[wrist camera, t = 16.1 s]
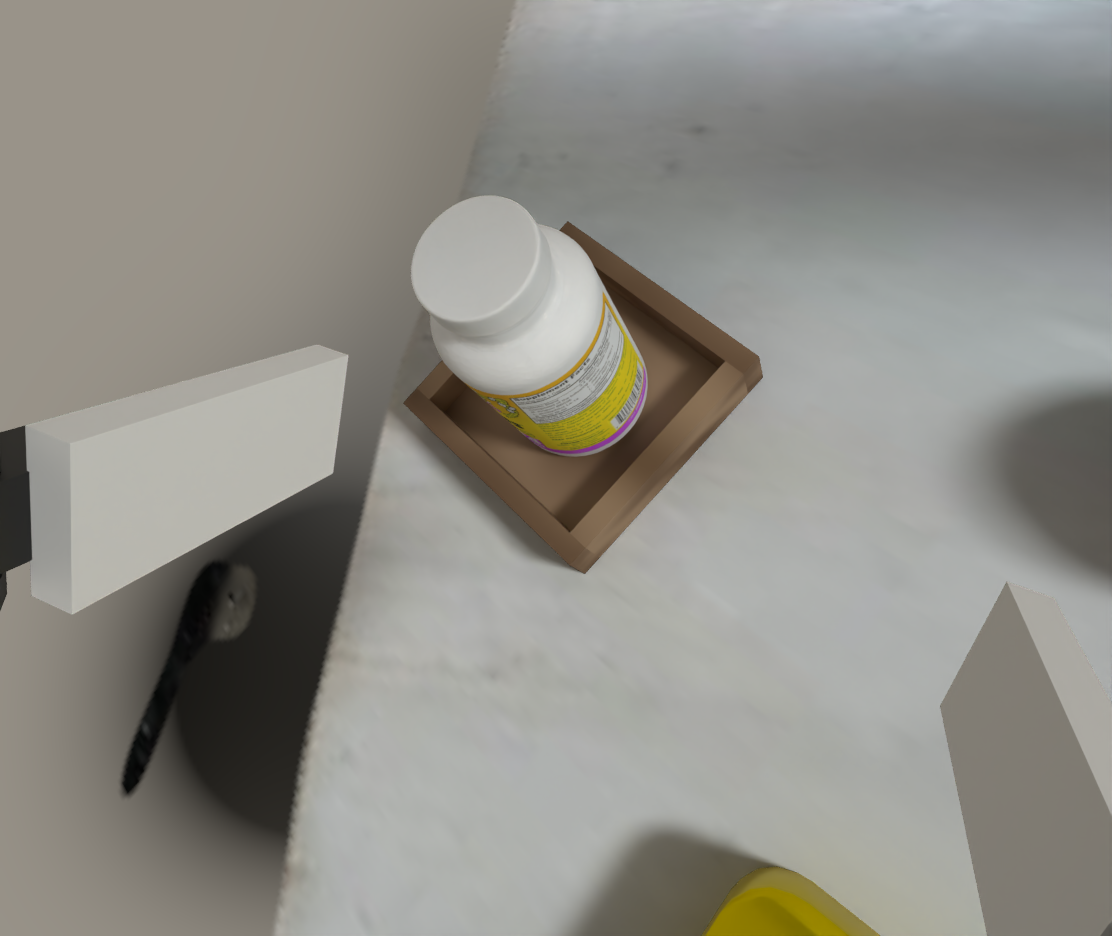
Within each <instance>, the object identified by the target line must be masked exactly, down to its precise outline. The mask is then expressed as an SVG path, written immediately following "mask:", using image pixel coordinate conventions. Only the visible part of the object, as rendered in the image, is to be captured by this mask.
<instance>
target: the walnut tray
mask: <svg viewBox="0 0 1112 936" xmlns="http://www.w3.org/2000/svg"><path fill="white" fill-rule="evenodd" d="M559 231H561V232H562V233H564V234H566V235H567V236H569V237H570V238H572V239H573V240H574V241H575V242H576V243H578V244H579V245H580V246H581V248H582V249H583V250H584V251H585V253H586V254H587V255H588V257H589V258H590V260H591V262H592V264H593V266H594V268H595V270H596V272H597V274H598V276H599V277H600V279H601V281H602V283H603V285H604V287H605V289H606V291H607V293H608V295H609V296H610V298H611V300H612V302H613V304H614V306H615V307H616V309H617V311H618V313H619V315H620V317H621V318H622V320H623V322H624V324H625V326H626V328H627V329H628V331H629V333H630V335H631V337H632V339H633V341H634V342H635V344H636V346H637V348H638V350H639V352H640V354H641V356H642V358H643V361H644V363H645V367H646V371H647V380H648V388H647V396H646V400H645V404H644V407H643V409H642V412H641V414H640V416H639V418H638V420H637V421H636V423H635V424H634V426H633V427H632V428H631V429H630V430H629V432H628V433H627V434H626V435H625V436H624V437H623V438H621V439H620V440H619V441H618V442H616V443H615V444H613V445H612V446H610V447H608V448H606V449H604V450H602V451H600V452H598V453H595V454H591V455H586V456H577V457H570V456H561V455H557V454H554V453H551V452H548V451H546V450H544V449H542V448H540V447H539V446H537V445H536V444H534V443H533V442H532V441H531V440H529V439H528V438H527V437H526V436H524V435H523V434H522V433H521V432H520V431H519V430H517V429H516V428H515V427H514V426H513V425H512V424H511V423H510V422H508V421H507V420H506V419H505V418H504V417H503V416H502V415H500V414H499V413H498V412H497V411H496V410H495V409H494V408H493V407H491V406H490V405H489V404H488V403H487V402H486V401H485V400H484V399H482V398H481V397H480V396H479V395H478V394H477V393H475V392H474V391H473V390H472V389H471V388H470V387H469V386H467V385H466V384H465V383H464V382H463V381H462V380H460V379H459V378H458V377H457V376H456V375H455V374H454V373H453V372H452V371H451V370H450V369H449V368H448V367H447V366H446V364H445V363H444V362H443V360H442V361H441V362H440V363H439V364H438V365H437V366H436V367H435V369H434V370H433V371H432V372H431V373H430V374H429V375H428V376H427V377H426V378H425V380H424V381H423V382H422V383H421V384H420V385H419V386H418V387H417V388H416V390H415V391H414V392H413V393H412V394H411V395H410V396H409V397H408V398H407V399H406V401H405V402H404V404H405V405H406V406H407V407H408V408H409V409H410V410H411V411H412V412H413V413H414V414H415V415H416V416H417V417H418V418H419V419H420V420H421V421H422V422H423V423H424V424H425V425H426V426H427V427H428V428H429V429H430V430H431V431H432V432H433V433H434V434H435V435H436V436H438V437H439V438H440V439H441V440H442V441H443V442H444V443H445V444H446V445H447V446H448V447H449V448H450V449H451V450H452V451H453V452H454V453H455V454H456V455H457V456H458V457H459V458H460V459H461V460H462V461H463V462H464V463H465V464H466V465H467V466H468V467H469V468H470V469H471V470H472V471H473V472H474V473H475V474H477V475H478V476H479V477H480V478H481V479H482V480H483V481H484V482H485V483H486V484H487V485H488V486H489V487H490V488H491V489H492V490H493V491H494V492H495V493H496V494H497V495H498V496H499V497H500V498H501V499H502V500H503V501H504V502H505V503H506V504H507V505H508V506H509V507H510V508H511V509H512V510H513V511H514V512H516V513H517V514H518V515H519V516H520V517H521V518H522V519H523V520H524V521H525V522H526V523H527V524H528V525H529V526H530V527H531V528H532V529H533V530H534V531H535V532H536V533H537V534H538V535H539V536H540V537H541V538H542V539H543V540H544V541H545V542H546V543H547V544H548V545H549V546H550V547H551V548H552V549H553V550H555V551H556V552H557V553H558V554H559V555H560V556H561V557H562V558H563V559H564V560H565V561H566V562H567V563H568V564H569V565H570V566H572V567H574V568H575V569H577V570H579V571H581V572H582V573H584V574H585V573H586V572H587V571H588V570H589V569H590V568H591V566H592V565H593V564H594V563H595V562H596V561H597V560H598V559H599V558H600V557H601V555H602V554H603V553H604V552H605V551H606V550H607V549H608V548H609V547H610V546H611V544H612V543H613V542H614V541H615V540H616V539H617V538H618V537H619V536H620V534H621V533H622V532H623V531H624V530H625V529H626V528H627V527H628V526H629V525H630V523H631V522H632V521H633V520H634V519H635V518H636V517H637V516H638V515H639V514H640V512H641V511H642V510H643V509H644V508H645V507H646V506H647V505H648V504H649V502H650V501H651V500H652V499H653V498H654V497H655V496H656V495H657V494H658V493H659V491H660V490H661V489H662V488H663V487H664V486H665V485H666V484H667V483H668V482H669V480H670V479H671V478H672V477H673V476H674V475H675V474H676V473H677V472H678V470H679V469H680V468H681V467H682V466H683V465H684V464H685V463H686V462H687V461H688V459H689V458H690V457H691V456H692V455H693V454H694V453H695V452H696V451H697V450H698V448H699V447H700V446H701V445H702V444H703V443H704V442H705V441H706V440H707V438H708V437H709V436H710V435H711V434H712V433H713V432H714V431H715V430H716V429H717V427H718V426H719V425H720V424H721V423H722V422H723V421H724V420H725V419H726V418H727V416H728V415H729V414H730V413H731V412H732V411H733V410H734V409H735V408H736V406H737V405H738V404H739V403H740V402H741V401H742V400H743V399H744V398H745V397H746V395H747V394H748V393H749V392H750V391H751V390H752V389H753V388H754V387H755V386H756V384H757V383H758V382H759V381H760V380H761V379H762V378H763V375H762V370H761V364H760V359H759V356H758V355H756V354H755V353H753V352H752V351H750V350H749V349H748V348H746V347H745V346H743V345H742V344H741V343H739V342H738V341H736V340H735V339H733V338H732V337H731V336H729V335H728V334H726V333H725V332H724V331H722V330H721V329H719V328H718V327H716V326H715V325H714V324H712V323H711V322H709V321H708V320H707V319H705V318H704V317H702V316H701V315H700V314H698V313H697V312H695V311H694V310H692V309H691V308H690V307H688V306H687V305H685V304H684V303H683V302H681V301H680V300H678V299H677V298H675V297H674V296H673V295H671V294H670V293H668V292H667V291H666V290H664V289H663V288H661V287H660V286H659V285H657V284H656V283H654V282H653V281H651V280H650V279H649V278H647V277H646V276H644V275H643V274H642V273H640V272H639V271H637V270H636V269H634V268H633V267H632V266H630V265H629V264H627V263H626V262H625V261H623V260H622V259H620V258H619V257H617V256H616V255H615V254H613V253H612V252H610V251H609V250H608V249H606V248H605V247H603V246H602V245H601V244H599V243H598V242H596V241H595V240H593V239H592V238H591V237H589V236H588V235H586V234H585V233H584V232H582V231H581V230H579V229H578V228H576V227H575V226H574V225H572V224H571V223H569V222H568V221H567V223H566V224H565V225H564V226H563V227H562V228H561V229H560V230H559Z"/></svg>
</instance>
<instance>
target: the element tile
mask: <svg viewBox="0 0 1112 936" xmlns="http://www.w3.org/2000/svg"><path fill="white" fill-rule="evenodd" d="M701 936H880V935H879V934H878V933H876V932H875V931H874V930H873V929H871V928H870V927H869V926H868V925H866V924H865V923H864V922H863V921H861V920H860V919H859V918H858V917H856V916H855V915H854V914H853V913H851V912H850V911H849V910H848V909H846V908H845V907H844V906H843V905H841V904H840V903H839V902H837V901H836V900H835V899H834V898H832V897H831V896H830V895H829V894H827V893H826V892H825V891H824V890H822V889H821V888H820V887H819V886H817V885H816V884H815V883H814V882H812V881H811V880H809V879H807V878H805V877H804V876H802V875H800V874H798V873H796V872H793V871H790V870H787V869H783V868H780V867H767V868H758V869H756V870H755V871H753V872H751V873H750V874H748V875H746V876H745V877H743V878H742V879H741V880H740V881H739V882H738V883H737V884H736V885H735V886H734V887H733V888H732V889H731V890H730V892H729V894H728V895H727V897H726V898H725V900H724V901H723V903H722V904H721V906H720V907H719V909H718V911H717V912H716V914H715V915H714V917H713V918H712V920H711V921H710V923H709V924H708V926H707V928H706V929H705V931H704V932H703V934H702V935H701Z"/></svg>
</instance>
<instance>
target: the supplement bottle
mask: <svg viewBox="0 0 1112 936" xmlns="http://www.w3.org/2000/svg"><path fill="white" fill-rule="evenodd" d="M411 282H412V286H413V290H414V293H415V295H416V297H417V299H418V300H419V302H420V303H421V305H422V306H423V307H424V308H425V309H426V310H427V311H428V312H429V313H430V327H431V333H432V337H433V341H434V344H435V347H436V349H437V351H438V353H439V355H440V357H441V358H442V360H443V362H444V363H445V364H446V366H447V367H448V368H449V369H450V370H451V371H452V372H453V373H454V374H455V375H456V376H457V377H458V378H459V379H460V380H462V381H463V382H464V383H465V384H466V385H467V386H469V387H470V388H471V389H472V390H473V391H474V392H475V393H477V394H478V395H479V396H480V397H481V398H482V399H484V400H485V401H486V402H487V403H488V404H489V405H490V406H491V407H493V408H494V409H495V410H496V411H497V412H498V413H499V414H500V415H502V416H503V417H504V418H505V419H506V420H507V421H508V422H510V423H511V424H512V425H513V426H514V427H515V428H516V429H517V430H519V431H520V432H521V433H522V434H523V435H524V436H526V437H527V438H528V439H529V440H531V441H532V442H533V443H534V444H536V445H537V446H539V447H540V448H542V449H544V450H546V451H548V452H551V453H554V454H557V455H561V456H570V457H577V456H586V455H591V454H595V453H598V452H600V451H602V450H604V449H606V448H608V447H610V446H612V445H613V444H615V443H616V442H618V441H619V440H620V439H621V438H623V437H624V436H625V435H626V434H627V433H628V432H629V430H630V429H631V428H632V427H633V426H634V424H635V423H636V421H637V420H638V418H639V416H640V414H641V412H642V409H643V407H644V404H645V400H646V396H647V388H648V380H647V371H646V367H645V363H644V361H643V358H642V356H641V354H640V352H639V350H638V348H637V346H636V344H635V342H634V341H633V339H632V337H631V335H630V333H629V331H628V329H627V328H626V326H625V324H624V322H623V320H622V318H621V317H620V315H619V313H618V311H617V309H616V307H615V306H614V304H613V302H612V300H611V298H610V296H609V295H608V293H607V291H606V289H605V287H604V285H603V283H602V281H601V279H600V277H599V276H598V274H597V272H596V270H595V268H594V266H593V264H592V262H591V260H590V258H589V257H588V255H587V254H586V253H585V251H584V250H583V249H582V248H581V246H580V245H579V244H578V243H576V242H575V241H574V240H573V239H572V238H570V237H569V236H567V235H566V234H564V233H562V232H561V231H559V230H557V229H554V228H551V227H548V226H545V225H541V224H537V223H536V221H535V220H534V219H533V217H532V216H531V214H530V213H529V212H528V211H527V210H526V209H525V208H524V207H522V206H521V205H520V204H518V203H517V202H515V201H513V200H511V199H508V198H505V197H501V196H493V195H486V196H477V197H473V198H469V199H466V200H464V201H461V202H459V203H457V204H455V205H453V206H452V207H450V208H448V209H447V210H446V211H444V212H443V213H442V214H441V215H439V216H438V217H437V218H436V219H435V220H434V221H433V222H432V223H431V224H430V225H429V226H428V228H427V229H426V230H425V232H424V233H423V235H422V236H421V238H420V240H419V242H418V244H417V246H416V248H415V251H414V254H413V259H412V264H411Z"/></svg>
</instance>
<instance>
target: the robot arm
mask: <svg viewBox="0 0 1112 936" xmlns="http://www.w3.org/2000/svg"><path fill="white" fill-rule="evenodd" d="M348 356H349V355H347V354H344V353H341V352H338V351H335V350H332V349H330V348H327V347H324V346H321V345H318V344H316V345H313V346H309V347H305V348H302V349H298V350H295V351H291V352H287V353H284V354H280V355H277V356H273V357H269V358H266V359H262V360H259V361H255V362H252V363H248V364H244V365H241V366H237V367H233V368H230V369H227V370H223V371H219V372H215V373H212V374H208V375H205V376H201V377H197V378H194V379H190V380H187V381H183V382H180V383H176V384H172V385H169V386H165V387H161V388H158V389H154V390H151V391H147V392H144V393H140V394H136V395H133V396H129V397H125V398H122V399H118V400H115V401H111V402H107V403H104V404H100V405H97V406H93V407H89V408H86V409H82V410H79V411H75V412H72V413H68V414H65V415H61V416H57V417H53V418H50V419H47V420H43V421H39V422H35V423H32V424H28V425H25V426H22V427H18V428H15V429H12V430H8V431H4V432H0V610H1V607H2V605H3V602H4V600H5V597H6V595H7V582H6V571H8V570H11V569H13V568H15V567H18V566H20V565H22V564H24V563H26V562H28V561H30V576H31V596H33V597H35V598H37V599H39V600H41V601H44V602H46V603H48V604H50V605H52V606H54V607H56V608H58V609H61V610H63V611H65V612H67V613H69V614H71V615H73V614H74V613H76V612H78V611H80V610H82V609H84V608H85V607H87V606H89V605H91V604H93V603H95V602H96V601H98V600H100V599H102V598H104V597H106V596H107V595H109V594H111V593H113V592H115V591H117V590H119V589H120V588H122V587H124V586H126V585H128V584H130V583H131V582H133V581H135V580H137V579H139V578H141V577H143V576H144V575H146V574H148V573H150V572H152V571H154V570H155V569H157V568H159V567H161V566H163V565H164V564H166V563H168V562H170V561H172V560H174V559H175V558H178V557H179V556H181V555H183V554H185V553H187V552H188V551H190V550H192V549H194V548H196V547H198V546H200V545H201V544H203V543H205V542H207V541H209V540H211V539H212V538H214V537H216V536H218V535H219V534H221V533H223V532H225V531H227V530H229V529H231V528H233V527H235V526H236V525H238V524H240V523H242V522H244V521H246V520H247V519H249V518H251V517H253V516H255V515H257V514H259V513H260V512H262V511H264V510H266V509H268V508H269V507H271V506H273V505H275V504H277V503H279V502H281V501H283V500H284V499H286V498H288V497H290V496H292V495H293V494H295V493H297V492H299V491H301V490H303V489H305V488H306V487H308V486H310V485H312V484H314V483H316V482H317V481H319V480H321V479H323V478H325V477H327V476H329V475H330V474H332V473H333V469H334V461H335V454H336V446H337V439H338V431H339V424H340V416H341V409H342V400H343V393H344V386H345V379H346V371H347V364H348ZM940 708H941V713H942V718H943V723H944V728H945V732H946V737H947V742H948V747H949V752H950V757H951V762H952V766H953V771H954V776H955V781H956V786H957V791H958V796H959V801H960V805H961V810H962V815H963V820H964V825H965V830H966V835H967V839H968V844H969V849H970V854H971V859H972V864H973V869H974V873H975V878H976V883H977V888H978V893H979V898H980V903H981V907H982V912H983V917H984V922H985V927H986V932H987V936H1112V703H1111V701H1110V699H1109V698H1108V696H1107V694H1106V692H1105V690H1104V688H1103V687H1102V685H1101V683H1100V681H1099V679H1098V677H1097V676H1096V674H1095V672H1094V670H1093V668H1092V667H1091V665H1090V663H1089V661H1088V659H1087V657H1086V656H1085V654H1084V652H1083V650H1082V648H1081V646H1080V645H1079V643H1078V641H1077V639H1076V637H1075V635H1074V634H1073V632H1072V630H1071V628H1070V626H1069V625H1068V623H1067V621H1066V619H1065V617H1064V615H1063V614H1062V612H1061V610H1060V608H1059V606H1058V604H1057V603H1056V601H1055V599H1054V598H1053V597H1050V596H1047V595H1044V594H1042V593H1039V592H1036V591H1033V590H1030V589H1027V588H1024V587H1021V586H1018V585H1015V584H1012V583H1010V582H1006V584H1005V586H1004V588H1003V590H1002V592H1001V593H1000V595H999V597H998V599H997V601H996V603H995V605H994V606H993V608H992V610H991V612H990V614H989V616H988V618H987V619H986V621H985V623H984V625H983V627H982V629H981V631H980V633H979V634H978V636H977V638H976V640H975V642H974V644H973V646H972V647H971V649H970V651H969V653H968V655H967V657H966V659H965V661H964V662H963V664H962V666H961V668H960V670H959V672H958V674H957V675H956V677H955V679H954V681H953V683H952V685H951V687H950V689H949V690H948V692H947V694H946V696H945V698H944V700H943V702H942V703H941V705H940Z"/></svg>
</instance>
